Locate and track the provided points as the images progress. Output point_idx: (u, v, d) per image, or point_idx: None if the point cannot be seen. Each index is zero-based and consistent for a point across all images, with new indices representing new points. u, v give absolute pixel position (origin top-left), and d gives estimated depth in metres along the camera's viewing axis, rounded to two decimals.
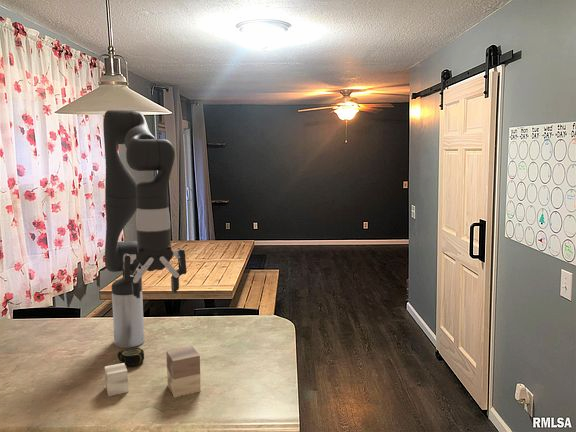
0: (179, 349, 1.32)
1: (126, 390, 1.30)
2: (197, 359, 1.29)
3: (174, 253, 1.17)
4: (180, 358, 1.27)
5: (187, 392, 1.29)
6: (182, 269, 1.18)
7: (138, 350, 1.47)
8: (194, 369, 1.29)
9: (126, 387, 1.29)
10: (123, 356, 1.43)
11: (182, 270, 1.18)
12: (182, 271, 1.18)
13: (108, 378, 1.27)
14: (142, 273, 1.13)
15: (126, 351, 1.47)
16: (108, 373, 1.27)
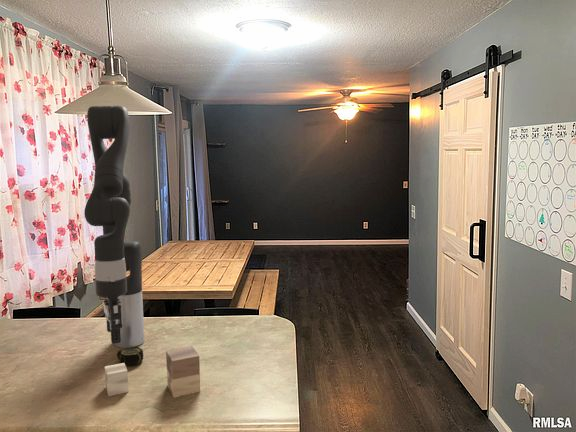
0: (179, 349, 1.32)
1: (126, 390, 1.30)
2: (196, 359, 1.28)
3: None
4: (179, 358, 1.27)
5: (187, 392, 1.29)
6: None
7: (137, 349, 1.47)
8: (193, 369, 1.28)
9: (126, 387, 1.29)
10: (122, 355, 1.44)
11: None
12: None
13: (108, 378, 1.27)
14: (121, 317, 1.25)
15: (125, 350, 1.47)
16: (108, 373, 1.27)
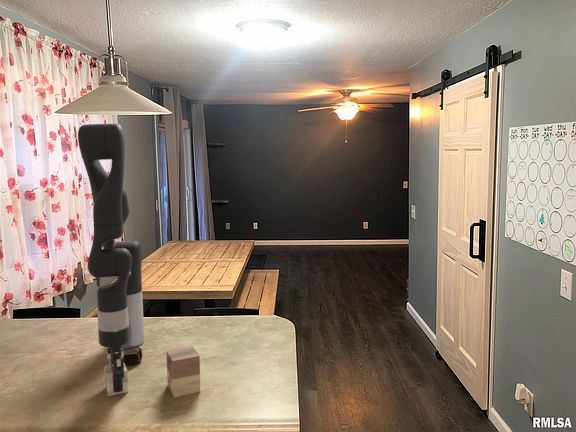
0: (179, 349, 1.32)
1: (126, 389, 1.30)
2: (197, 359, 1.28)
3: None
4: (180, 358, 1.27)
5: (187, 392, 1.29)
6: None
7: (136, 349, 1.48)
8: (193, 369, 1.28)
9: (126, 387, 1.29)
10: None
11: None
12: None
13: (108, 378, 1.27)
14: None
15: (124, 349, 1.47)
16: (108, 373, 1.27)
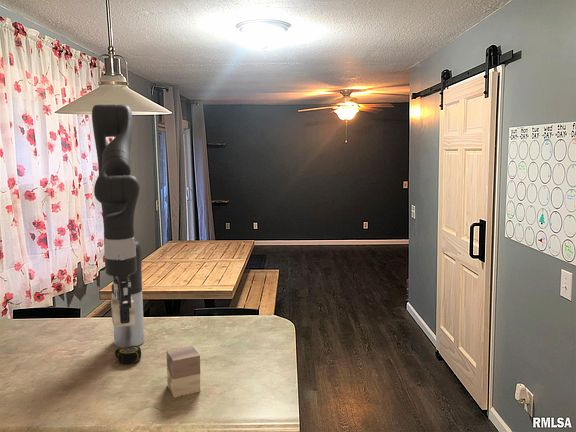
0: (179, 349, 1.32)
1: (133, 322, 1.27)
2: (197, 359, 1.29)
3: None
4: (180, 358, 1.27)
5: (187, 392, 1.29)
6: None
7: (135, 348, 1.49)
8: (194, 368, 1.29)
9: (133, 319, 1.26)
10: (120, 354, 1.45)
11: None
12: None
13: (114, 308, 1.24)
14: None
15: (123, 348, 1.48)
16: (114, 303, 1.24)
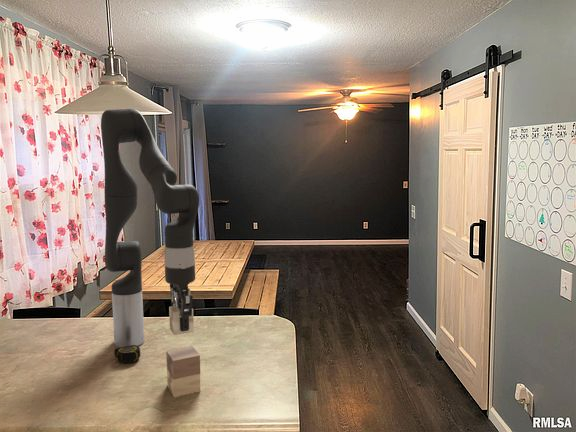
0: (179, 349, 1.32)
1: (192, 329, 1.28)
2: (197, 359, 1.29)
3: None
4: (180, 358, 1.27)
5: (187, 392, 1.29)
6: None
7: (134, 347, 1.49)
8: (194, 368, 1.29)
9: (192, 327, 1.28)
10: (119, 353, 1.45)
11: None
12: None
13: (175, 316, 1.25)
14: None
15: (122, 348, 1.49)
16: (174, 311, 1.26)
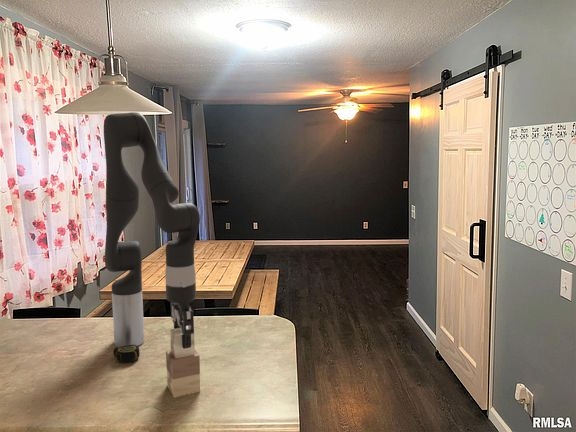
0: None
1: (193, 352, 1.29)
2: (197, 359, 1.29)
3: None
4: (180, 358, 1.27)
5: (187, 392, 1.29)
6: None
7: (133, 347, 1.49)
8: (193, 368, 1.29)
9: (193, 349, 1.29)
10: (118, 352, 1.46)
11: None
12: None
13: (176, 340, 1.26)
14: None
15: (121, 347, 1.49)
16: (176, 335, 1.27)
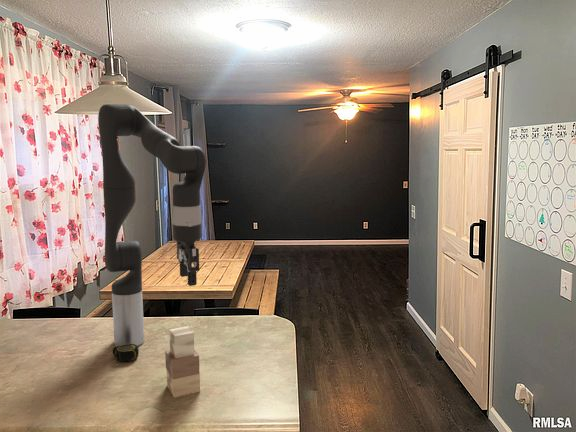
0: None
1: (192, 352, 1.29)
2: (196, 359, 1.29)
3: None
4: (179, 358, 1.27)
5: (187, 392, 1.29)
6: None
7: (133, 346, 1.50)
8: (193, 368, 1.29)
9: (192, 349, 1.29)
10: (118, 352, 1.46)
11: None
12: None
13: (176, 340, 1.26)
14: None
15: (120, 347, 1.49)
16: (175, 335, 1.27)
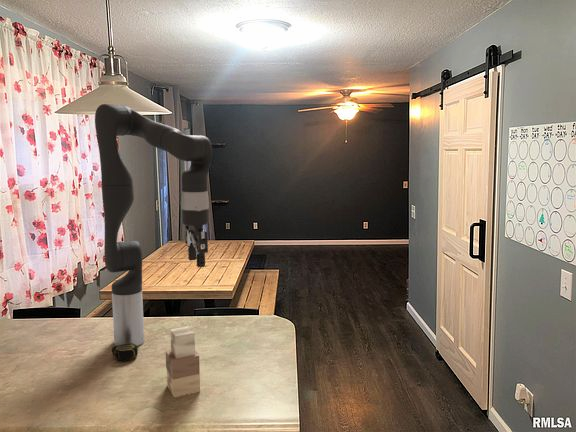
0: None
1: (193, 352, 1.29)
2: (196, 359, 1.29)
3: None
4: (179, 358, 1.27)
5: (187, 392, 1.29)
6: None
7: (132, 345, 1.50)
8: (193, 368, 1.29)
9: (193, 349, 1.29)
10: (117, 351, 1.47)
11: None
12: None
13: (176, 340, 1.26)
14: None
15: (120, 346, 1.50)
16: (176, 335, 1.27)
